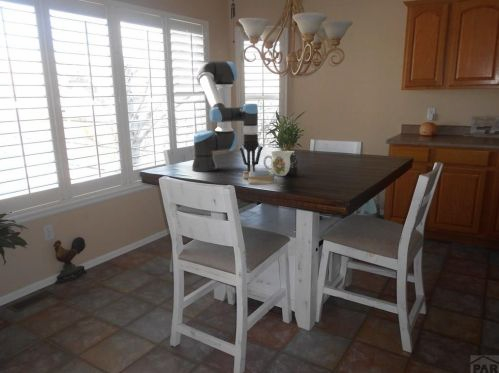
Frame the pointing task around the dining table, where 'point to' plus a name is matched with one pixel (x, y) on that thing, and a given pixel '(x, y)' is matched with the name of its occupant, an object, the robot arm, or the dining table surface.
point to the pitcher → (279, 162)
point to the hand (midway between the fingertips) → (251, 177)
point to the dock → (258, 178)
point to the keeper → (261, 172)
